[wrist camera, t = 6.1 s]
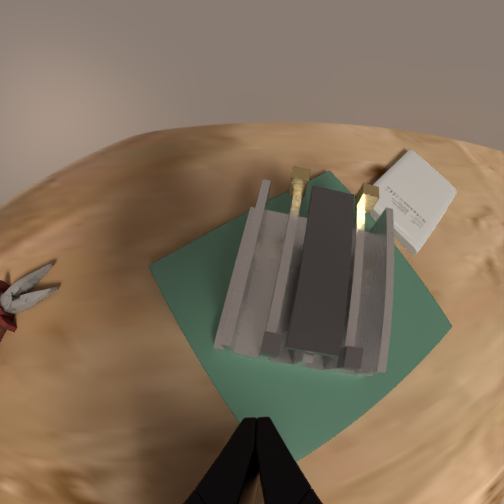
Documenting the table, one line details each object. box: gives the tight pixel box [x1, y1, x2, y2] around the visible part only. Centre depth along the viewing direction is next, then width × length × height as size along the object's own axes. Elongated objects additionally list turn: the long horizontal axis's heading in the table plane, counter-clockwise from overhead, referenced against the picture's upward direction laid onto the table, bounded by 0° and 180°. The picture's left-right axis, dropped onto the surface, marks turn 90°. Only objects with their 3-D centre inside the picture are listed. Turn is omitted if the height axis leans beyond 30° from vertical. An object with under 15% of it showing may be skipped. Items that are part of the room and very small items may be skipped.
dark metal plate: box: [284, 185, 354, 357], centre depth 17 cm, size 11×3×1 cm, turn 167°
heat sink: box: [213, 166, 394, 377], centre depth 20 cm, size 12×12×8 cm
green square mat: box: [149, 171, 452, 462], centre depth 23 cm, size 20×20×1 cm
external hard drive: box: [370, 149, 457, 256], centre depth 28 cm, size 2×8×12 cm
